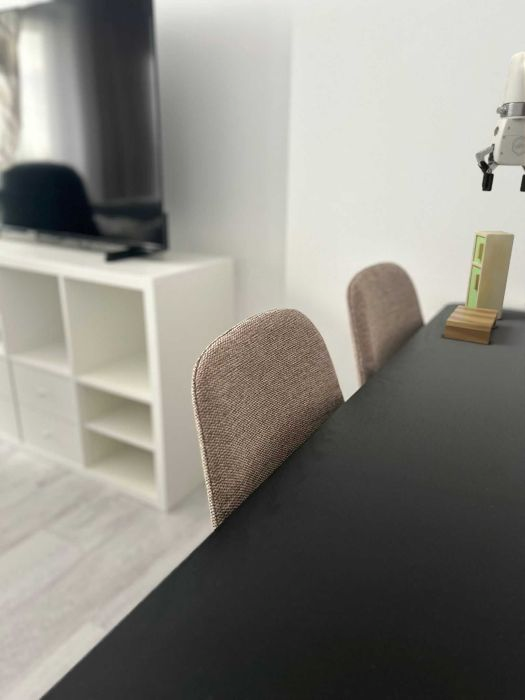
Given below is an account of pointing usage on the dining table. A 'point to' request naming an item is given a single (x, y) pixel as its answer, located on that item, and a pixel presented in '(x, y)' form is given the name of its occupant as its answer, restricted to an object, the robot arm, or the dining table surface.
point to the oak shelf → (471, 324)
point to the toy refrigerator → (489, 270)
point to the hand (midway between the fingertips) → (505, 191)
